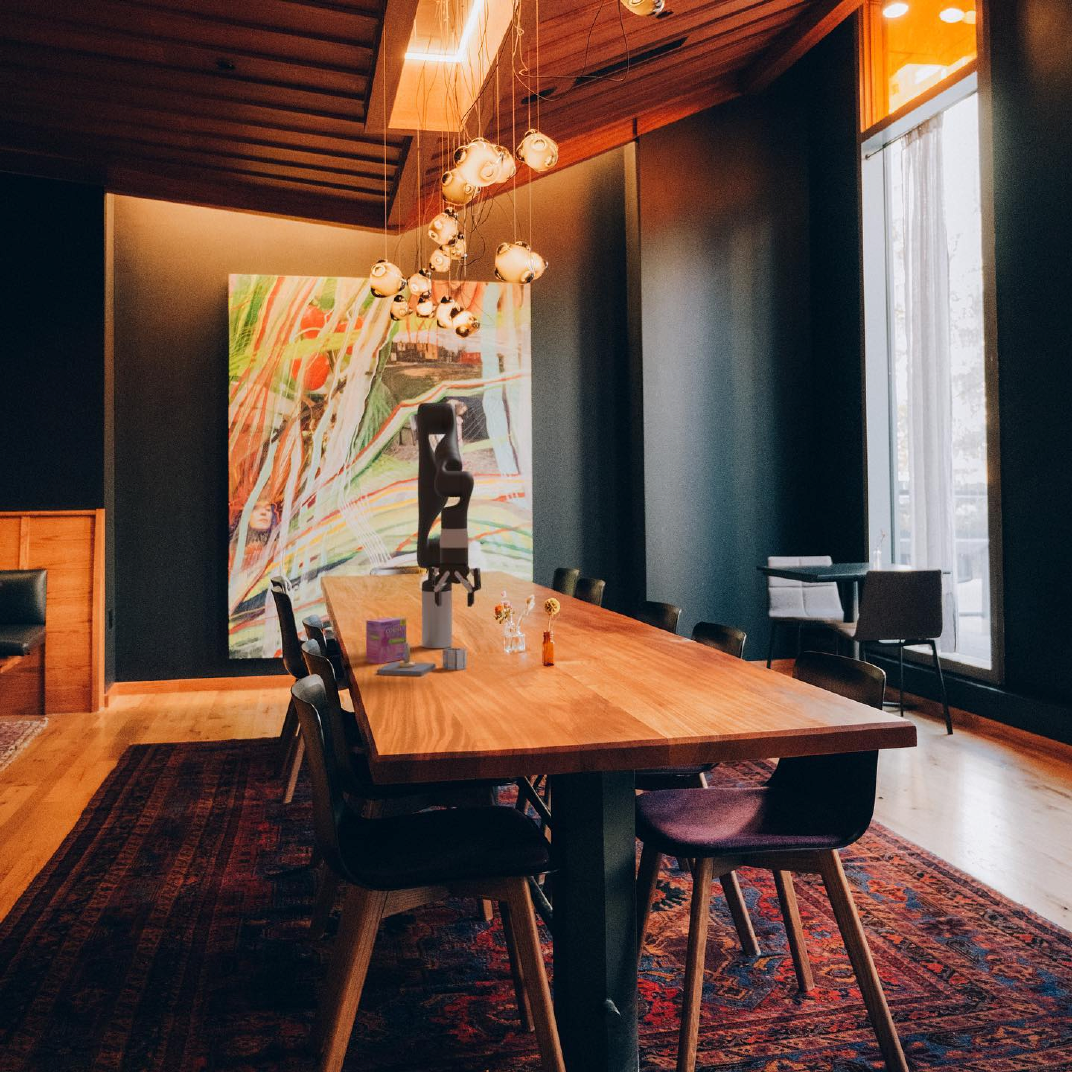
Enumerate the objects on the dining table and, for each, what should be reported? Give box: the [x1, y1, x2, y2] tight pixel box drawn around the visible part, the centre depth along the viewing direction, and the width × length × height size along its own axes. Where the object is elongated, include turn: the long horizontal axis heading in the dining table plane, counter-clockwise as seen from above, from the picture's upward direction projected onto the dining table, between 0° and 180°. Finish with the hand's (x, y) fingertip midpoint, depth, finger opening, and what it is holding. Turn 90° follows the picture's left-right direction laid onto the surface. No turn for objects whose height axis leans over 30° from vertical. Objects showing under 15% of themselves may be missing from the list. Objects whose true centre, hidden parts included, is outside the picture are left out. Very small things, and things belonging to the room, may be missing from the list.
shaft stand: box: [376, 642, 437, 677], centre depth 244 cm, size 12×12×7 cm
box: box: [365, 616, 407, 665], centre depth 260 cm, size 10×6×12 cm, turn 143°
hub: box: [442, 647, 468, 671], centre depth 249 cm, size 6×6×5 cm
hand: (454, 606), depth 248 cm, fingers open, 8 cm apart
